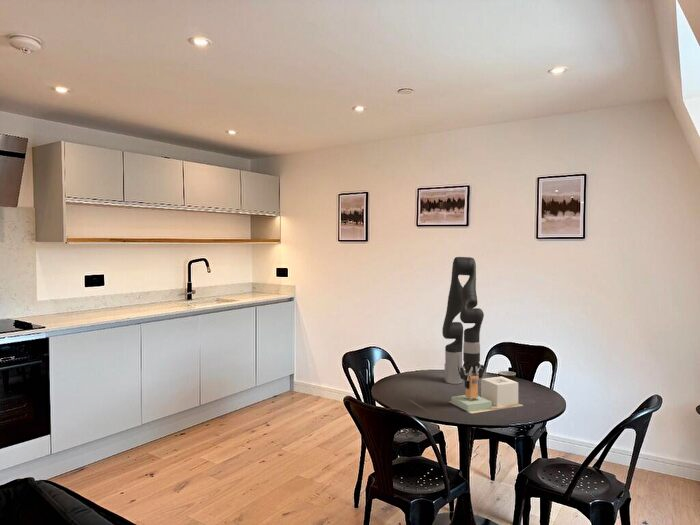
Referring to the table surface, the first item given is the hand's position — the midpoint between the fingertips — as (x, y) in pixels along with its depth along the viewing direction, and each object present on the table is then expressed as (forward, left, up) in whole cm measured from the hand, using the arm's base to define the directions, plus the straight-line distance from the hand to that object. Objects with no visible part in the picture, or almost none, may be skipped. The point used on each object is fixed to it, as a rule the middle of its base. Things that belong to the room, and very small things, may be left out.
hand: (471, 387), depth 223 cm
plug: (0, 0, -4) cm, 4 cm away
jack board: (0, +8, -9) cm, 12 cm away
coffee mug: (-14, +30, -10) cm, 34 cm away
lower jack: (0, 0, -8) cm, 8 cm away
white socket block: (0, +16, -8) cm, 18 cm away
